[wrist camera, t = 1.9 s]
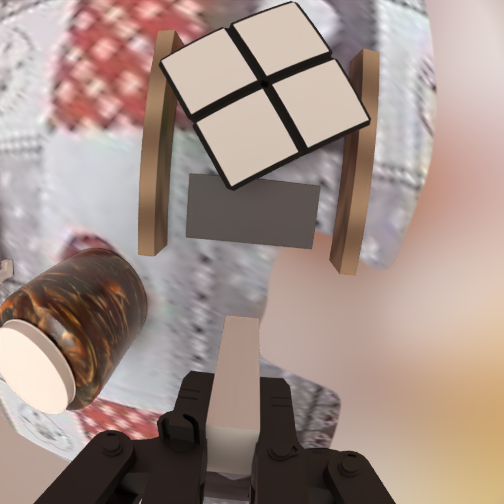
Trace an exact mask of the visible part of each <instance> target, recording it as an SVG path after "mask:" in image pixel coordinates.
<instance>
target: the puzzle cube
mask: <svg viewBox="0 0 504 504" xmlns="http://www.w3.org/2000/svg"><path fill="white" fill-rule="evenodd" d="M331 55H332V50H331V49H330V47H329V46H328V44H327V43H326V41H325V40H324V38H323V37H322V35H321V34H320V33H319V31H318V30H317V28H316V27H315V26H314V24H313V23H312V21H311V20H310V19H309V17H308V16H307V15H306V13H305V12H304V11H303V9H302V8H301V7H300V6H299V4H298V3H296V2H292V1H290V2H286V3H283V4H280V5H277V6H274V7H272V8H269V9H266V10H263V11H260V12H258V13H255V14H253V15H250V16H248V17H245V18H243V19H240V20H238V21H235V22H233V23H231V25H230V27H229V28H223V27H221V28H219V29H217V30H215V31H213V32H211V33H209V34H207V35H204V36H202V37H200V38H198V39H196V40H195V41H193V42H191V43H189V44H187V45H185V46H183V47H181V48H179V49H178V50H176V51H174V52H172V53H171V54H169V55H167V56H165V57H164V58H162V59H161V60H160V62H159V67H160V69H161V71H162V72H163V74H164V76H165V78H166V80H167V81H168V83H169V85H170V87H171V89H172V90H173V92H174V94H175V96H176V98H177V99H178V101H179V103H180V105H181V107H182V108H183V110H184V112H185V114H186V116H187V117H188V118H189V119H190V120H191V121H192V122H193V123H194V124H193V128H194V130H195V132H196V133H197V135H198V137H199V139H200V141H201V143H202V144H203V146H204V148H205V150H206V152H207V153H208V155H209V157H210V159H211V161H212V162H213V164H214V166H215V168H216V170H217V172H218V173H219V175H220V177H221V179H222V181H223V183H224V184H225V186H226V188H227V189H229V190H232V191H235V190H237V189H239V188H241V187H243V186H245V185H247V184H248V183H250V182H252V181H254V180H256V179H258V178H260V177H262V176H264V175H266V174H268V173H270V172H271V171H273V170H275V169H277V168H279V167H281V166H283V165H285V164H287V163H289V162H291V161H293V160H295V159H297V158H299V157H301V156H304V155H306V154H309V153H311V152H313V151H315V150H317V149H319V148H321V147H323V146H325V145H328V144H330V143H332V142H334V141H336V140H338V139H340V138H343V137H345V136H347V135H349V134H351V133H353V132H356V131H358V130H360V129H362V128H365V127H367V126H369V125H370V122H371V117H370V115H369V113H368V112H367V110H366V108H365V106H364V104H363V102H362V100H361V99H360V97H359V95H358V93H357V91H356V90H355V88H354V86H353V84H352V83H351V81H350V79H349V78H348V76H347V74H346V73H345V71H344V69H343V68H342V66H341V64H340V63H339V61H338V60H337V59H334V58H332V57H331Z"/></svg>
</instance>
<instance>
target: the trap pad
mask: <svg viewBox="0 0 504 504" xmlns="http://www.w3.org/2000/svg"><path fill="white" fill-rule="evenodd" d="M319 194H320V186H315V185H307V184H299V183H291V182H282V181H273V180H263V179H256V180H254V181H252V182H250V183H248V184H247V185H245V186H243V187H241V188H239V189H237V190H235V191H232V190H229V189H227V188H226V186H225V184H224V183H223V181H222V179H221V177H220V176H216V175H202V174H190V175H189V190H188V206H187V225H186V237H187V238H198V239H209V240H220V241H231V242H242V243H252V244H263V245H273V246H283V247H294V248H304V249H312V245H313V239H314V232H315V225H316V217H317V210H318V202H319Z"/></svg>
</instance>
